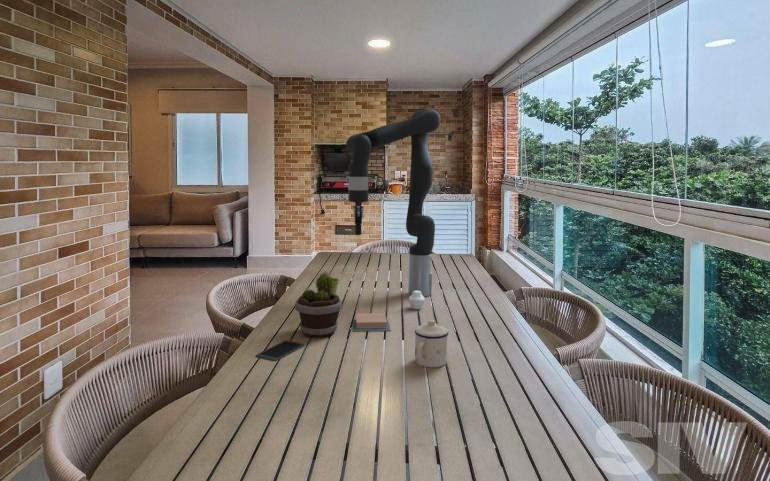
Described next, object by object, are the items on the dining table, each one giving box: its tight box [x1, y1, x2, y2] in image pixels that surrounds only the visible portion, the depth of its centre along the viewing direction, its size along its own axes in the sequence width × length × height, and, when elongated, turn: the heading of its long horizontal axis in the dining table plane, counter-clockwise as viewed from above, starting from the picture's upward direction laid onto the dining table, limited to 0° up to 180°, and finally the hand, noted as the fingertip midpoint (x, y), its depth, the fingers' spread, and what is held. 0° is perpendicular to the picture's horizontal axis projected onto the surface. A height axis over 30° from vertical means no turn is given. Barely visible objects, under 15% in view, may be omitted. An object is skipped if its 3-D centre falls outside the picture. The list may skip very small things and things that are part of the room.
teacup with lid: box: [414, 319, 449, 368], centre depth 131 cm, size 12×9×12 cm
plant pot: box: [314, 277, 340, 295], centre depth 190 cm, size 9×9×9 cm
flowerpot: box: [294, 271, 343, 338], centre depth 154 cm, size 14×15×20 cm
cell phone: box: [255, 340, 305, 362], centre depth 140 cm, size 7×14×1 cm, turn 154°
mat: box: [352, 318, 392, 333], centre depth 163 cm, size 12×12×1 cm
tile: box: [355, 312, 387, 328], centre depth 164 cm, size 10×2×10 cm
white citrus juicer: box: [408, 290, 426, 310], centre depth 183 cm, size 6×6×7 cm
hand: (358, 234), depth 186 cm, fingers closed
